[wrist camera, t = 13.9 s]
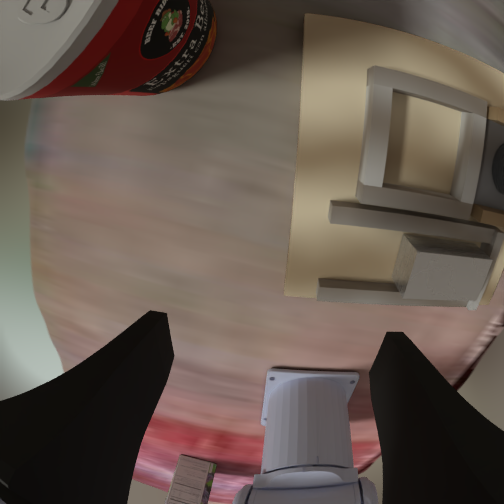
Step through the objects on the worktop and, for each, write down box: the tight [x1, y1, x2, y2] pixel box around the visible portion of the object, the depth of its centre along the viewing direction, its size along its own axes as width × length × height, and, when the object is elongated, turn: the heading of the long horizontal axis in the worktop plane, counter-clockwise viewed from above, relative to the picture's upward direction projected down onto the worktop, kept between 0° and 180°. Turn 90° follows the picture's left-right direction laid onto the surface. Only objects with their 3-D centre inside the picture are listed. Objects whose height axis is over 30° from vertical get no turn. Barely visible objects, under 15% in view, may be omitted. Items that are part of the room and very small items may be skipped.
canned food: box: [0, 0, 217, 100], centre depth 8 cm, size 8×8×11 cm
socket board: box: [284, 13, 504, 310], centre depth 14 cm, size 17×17×3 cm
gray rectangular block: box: [392, 234, 493, 301], centre depth 15 cm, size 3×6×2 cm, turn 88°
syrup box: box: [165, 455, 217, 504], centre depth 30 cm, size 6×6×14 cm
